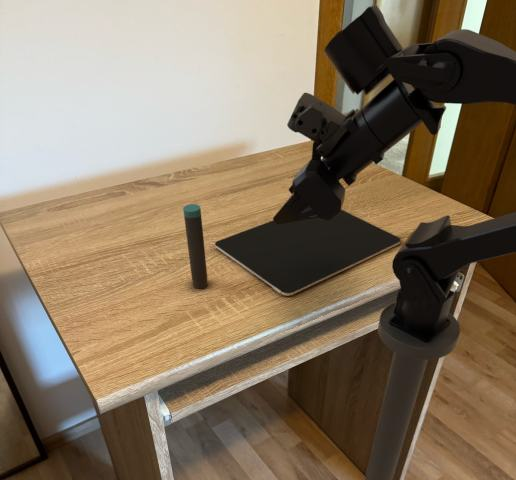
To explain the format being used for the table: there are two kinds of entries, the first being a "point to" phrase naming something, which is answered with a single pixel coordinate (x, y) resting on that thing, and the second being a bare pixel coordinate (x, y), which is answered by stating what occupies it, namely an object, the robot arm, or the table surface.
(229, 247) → the tablet
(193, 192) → the table surface
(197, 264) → the teal capped marker
